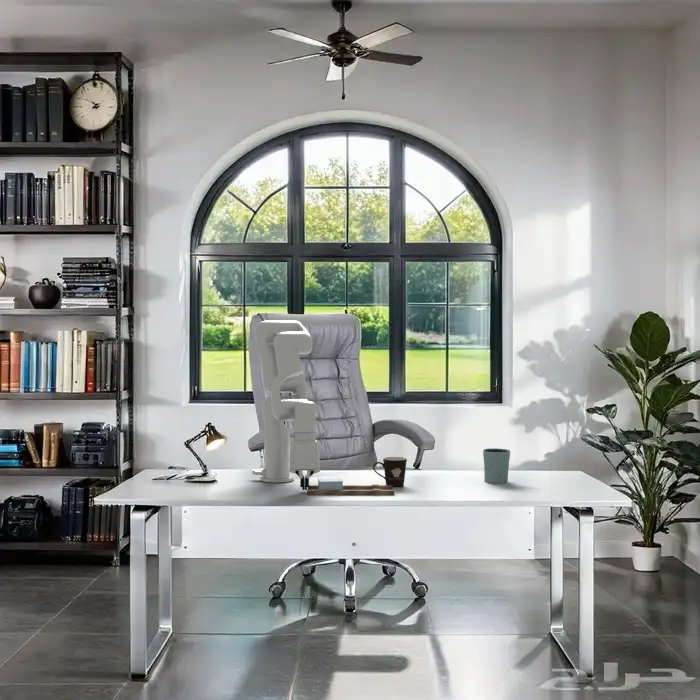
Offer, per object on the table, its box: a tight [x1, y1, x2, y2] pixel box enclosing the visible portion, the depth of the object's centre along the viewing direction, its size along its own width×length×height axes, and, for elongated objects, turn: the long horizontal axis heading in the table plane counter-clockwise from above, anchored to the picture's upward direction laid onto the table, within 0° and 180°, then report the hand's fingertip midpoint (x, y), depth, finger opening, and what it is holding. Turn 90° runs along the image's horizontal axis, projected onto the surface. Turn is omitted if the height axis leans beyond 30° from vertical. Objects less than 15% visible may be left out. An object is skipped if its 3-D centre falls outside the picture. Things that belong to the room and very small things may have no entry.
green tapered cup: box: [482, 447, 511, 485], centre depth 338 cm, size 10×10×12 cm
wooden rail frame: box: [306, 483, 395, 496], centre depth 316 cm, size 30×10×2 cm, turn 91°
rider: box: [317, 477, 344, 490], centre depth 315 cm, size 8×6×4 cm
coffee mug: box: [372, 456, 408, 488], centre depth 329 cm, size 12×9×10 cm
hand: (304, 489), depth 315 cm, fingers closed
